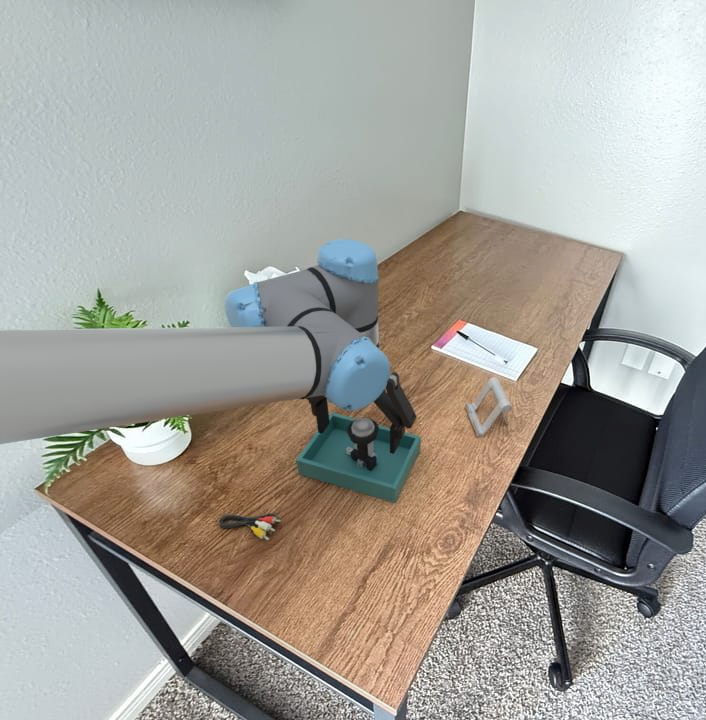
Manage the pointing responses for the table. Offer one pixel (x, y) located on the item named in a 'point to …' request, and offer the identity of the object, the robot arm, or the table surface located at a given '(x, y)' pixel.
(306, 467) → the tray
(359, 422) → the push button
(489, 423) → the tablet stand
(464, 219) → the table surface
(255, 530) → the composite cable
